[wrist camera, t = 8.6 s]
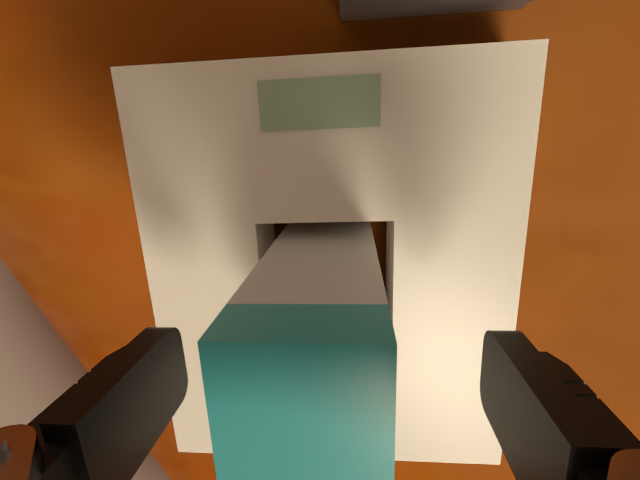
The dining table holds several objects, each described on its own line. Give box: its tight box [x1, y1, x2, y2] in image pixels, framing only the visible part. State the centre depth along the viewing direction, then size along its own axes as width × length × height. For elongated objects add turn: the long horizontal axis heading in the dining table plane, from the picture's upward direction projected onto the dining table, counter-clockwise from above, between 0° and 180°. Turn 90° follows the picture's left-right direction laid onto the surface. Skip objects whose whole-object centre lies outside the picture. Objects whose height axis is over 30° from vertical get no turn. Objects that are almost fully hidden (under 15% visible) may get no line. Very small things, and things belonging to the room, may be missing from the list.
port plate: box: [110, 39, 549, 465], centre depth 15 cm, size 14×16×3 cm
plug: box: [197, 221, 397, 480], centre depth 12 cm, size 4×4×10 cm
